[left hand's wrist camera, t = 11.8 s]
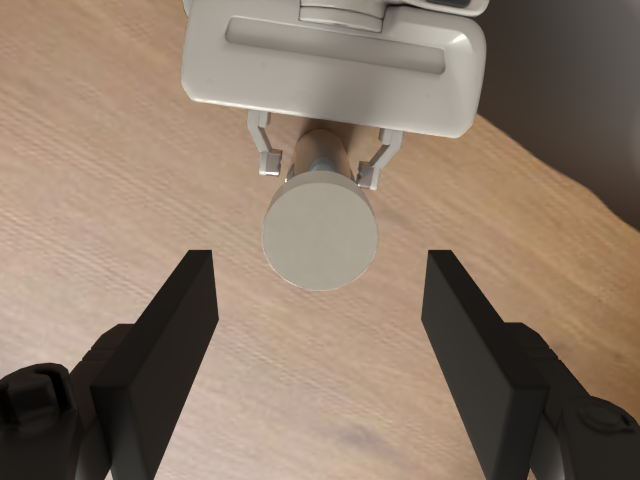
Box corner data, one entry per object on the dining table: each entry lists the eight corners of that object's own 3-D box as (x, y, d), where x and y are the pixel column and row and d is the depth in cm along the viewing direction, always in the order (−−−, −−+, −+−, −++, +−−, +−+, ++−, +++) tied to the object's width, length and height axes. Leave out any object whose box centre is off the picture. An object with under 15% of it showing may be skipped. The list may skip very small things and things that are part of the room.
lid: (336, 286, 22) (338, 309, 20) (248, 238, 21) (240, 256, 19) (393, 205, 20) (402, 221, 18) (301, 149, 19) (299, 158, 17)
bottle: (328, 188, 38) (335, 296, 20) (285, 163, 38) (252, 250, 19) (355, 146, 37) (389, 220, 19) (311, 118, 36) (302, 167, 18)
